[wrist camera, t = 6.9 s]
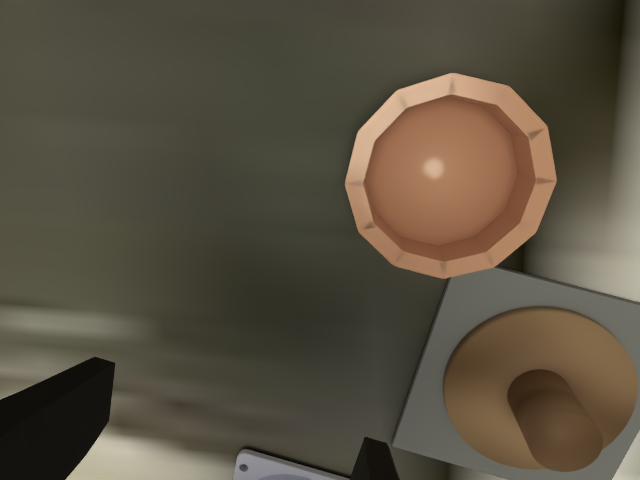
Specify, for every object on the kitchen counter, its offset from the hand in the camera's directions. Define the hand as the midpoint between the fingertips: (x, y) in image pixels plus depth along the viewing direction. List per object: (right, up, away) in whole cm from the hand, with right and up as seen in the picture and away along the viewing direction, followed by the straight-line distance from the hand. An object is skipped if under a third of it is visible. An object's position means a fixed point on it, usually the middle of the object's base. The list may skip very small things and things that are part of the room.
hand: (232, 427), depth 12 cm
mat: (+13, -2, +10) cm, 16 cm away
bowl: (+8, +8, +8) cm, 14 cm away
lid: (+13, -2, +9) cm, 16 cm away
